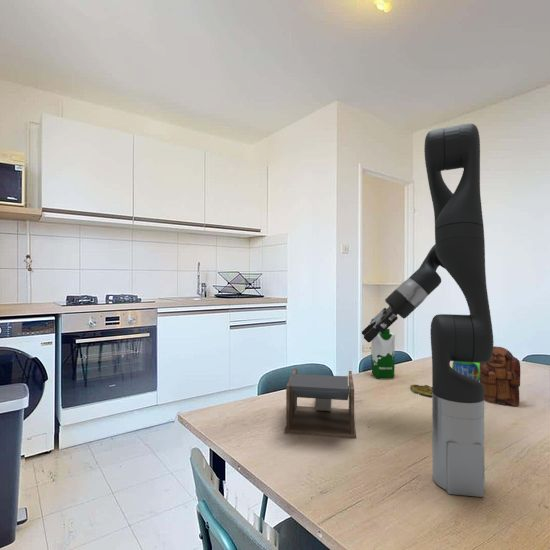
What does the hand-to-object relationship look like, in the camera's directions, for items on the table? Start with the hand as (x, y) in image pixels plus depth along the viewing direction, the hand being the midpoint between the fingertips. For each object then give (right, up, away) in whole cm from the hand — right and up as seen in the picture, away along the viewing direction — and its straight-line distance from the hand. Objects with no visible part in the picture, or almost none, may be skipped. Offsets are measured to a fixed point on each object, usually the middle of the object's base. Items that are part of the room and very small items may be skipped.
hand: (364, 337), depth 103 cm
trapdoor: (-13, -15, -6) cm, 21 cm away
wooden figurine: (+48, -24, +15) cm, 56 cm away
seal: (+29, -24, +24) cm, 45 cm away
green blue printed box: (+49, -24, +35) cm, 65 cm away
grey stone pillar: (-11, -20, +4) cm, 23 cm away
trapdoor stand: (-13, -23, -2) cm, 27 cm away
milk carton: (+19, -24, +46) cm, 55 cm away
